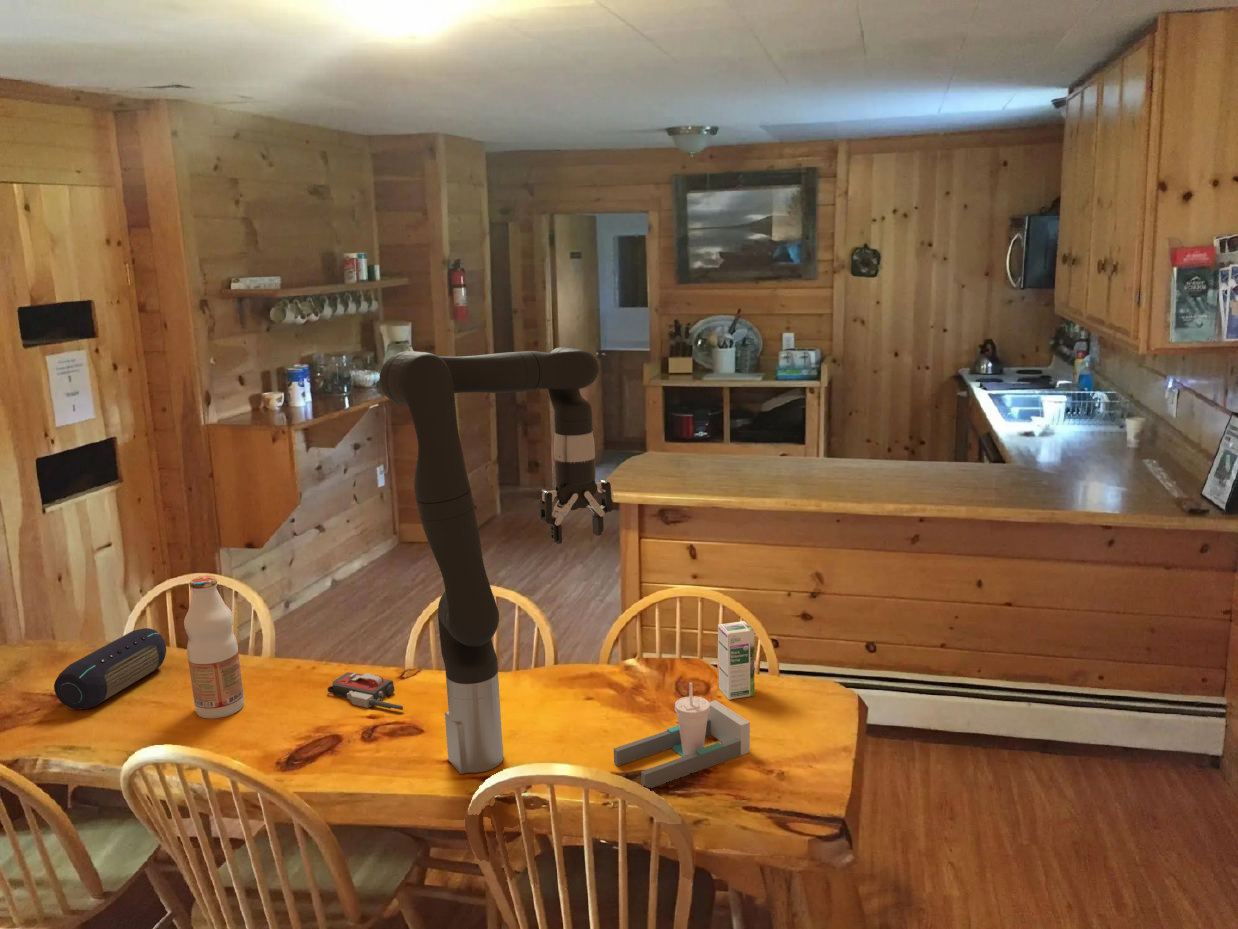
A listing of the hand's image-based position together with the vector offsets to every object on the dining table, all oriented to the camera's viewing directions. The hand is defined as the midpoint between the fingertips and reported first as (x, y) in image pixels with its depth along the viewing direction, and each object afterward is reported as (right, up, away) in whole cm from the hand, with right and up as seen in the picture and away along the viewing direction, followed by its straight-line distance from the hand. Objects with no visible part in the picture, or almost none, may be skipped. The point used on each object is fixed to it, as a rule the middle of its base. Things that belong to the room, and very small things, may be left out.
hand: (577, 538), depth 190 cm
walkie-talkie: (-43, -35, +18) cm, 58 cm away
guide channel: (+19, -39, -9) cm, 44 cm away
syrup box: (+32, -33, +15) cm, 48 cm away
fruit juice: (-73, -36, +14) cm, 83 cm away
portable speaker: (-100, -34, +25) cm, 108 cm away
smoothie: (+21, -39, -8) cm, 45 cm away
